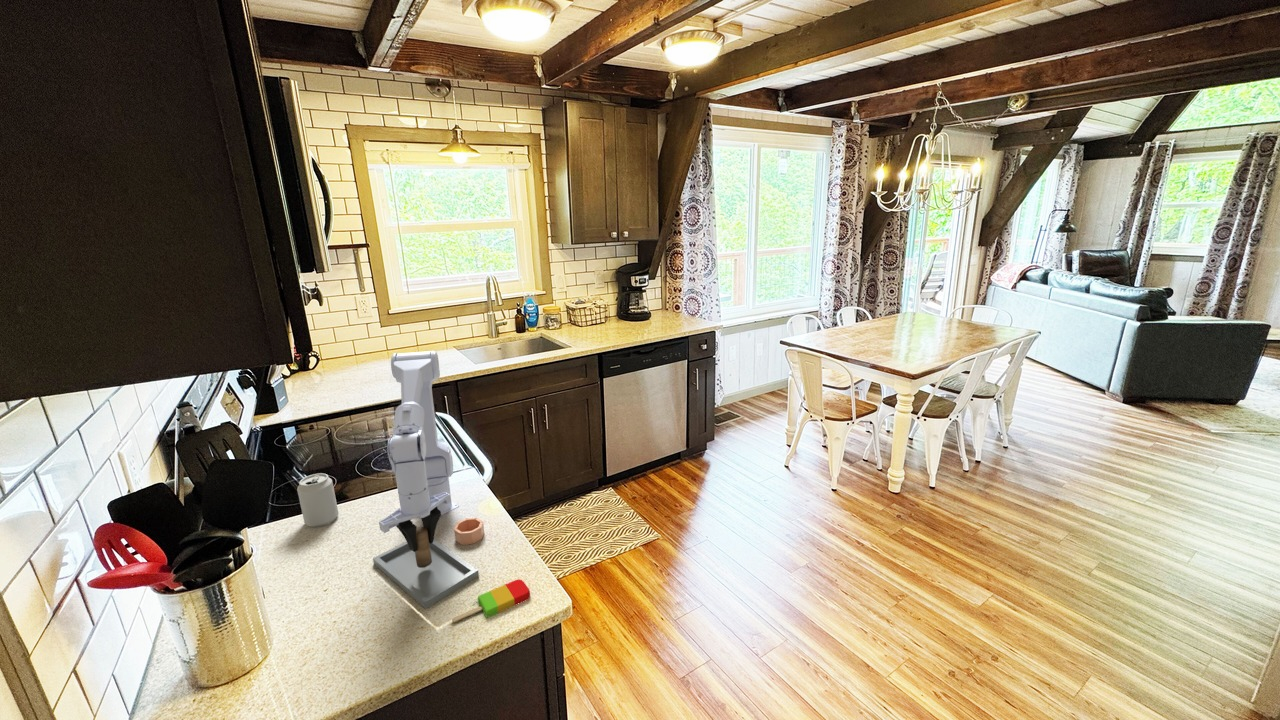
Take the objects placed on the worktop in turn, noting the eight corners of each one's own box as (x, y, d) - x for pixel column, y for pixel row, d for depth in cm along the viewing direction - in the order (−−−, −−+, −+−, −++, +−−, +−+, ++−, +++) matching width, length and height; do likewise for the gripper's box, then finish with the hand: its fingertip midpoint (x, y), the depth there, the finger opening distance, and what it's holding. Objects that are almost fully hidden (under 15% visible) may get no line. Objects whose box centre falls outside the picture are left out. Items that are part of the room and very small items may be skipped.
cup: (451, 539, 120) (449, 526, 120) (474, 527, 125) (472, 515, 124) (466, 549, 117) (464, 536, 116) (488, 536, 121) (487, 523, 120)
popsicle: (532, 599, 102) (531, 591, 101) (456, 634, 93) (455, 625, 93) (521, 584, 106) (521, 576, 105) (448, 616, 98) (447, 608, 97)
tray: (374, 566, 112) (372, 558, 111) (425, 539, 121) (424, 532, 120) (425, 611, 98) (424, 602, 98) (479, 578, 107) (478, 570, 107)
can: (298, 529, 125) (288, 486, 122) (316, 512, 133) (307, 471, 129) (329, 528, 126) (320, 485, 122) (344, 512, 133) (337, 470, 130)
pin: (414, 563, 108) (409, 531, 106) (427, 556, 111) (422, 524, 109) (421, 569, 107) (416, 536, 105) (434, 562, 109) (430, 529, 107)
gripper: (387, 510, 96) (397, 570, 100) (455, 480, 107) (462, 536, 111) (370, 498, 100) (380, 556, 104) (437, 470, 111) (444, 524, 115)
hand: (421, 545), depth 108 cm, fingers closed on pin, 3 cm apart
